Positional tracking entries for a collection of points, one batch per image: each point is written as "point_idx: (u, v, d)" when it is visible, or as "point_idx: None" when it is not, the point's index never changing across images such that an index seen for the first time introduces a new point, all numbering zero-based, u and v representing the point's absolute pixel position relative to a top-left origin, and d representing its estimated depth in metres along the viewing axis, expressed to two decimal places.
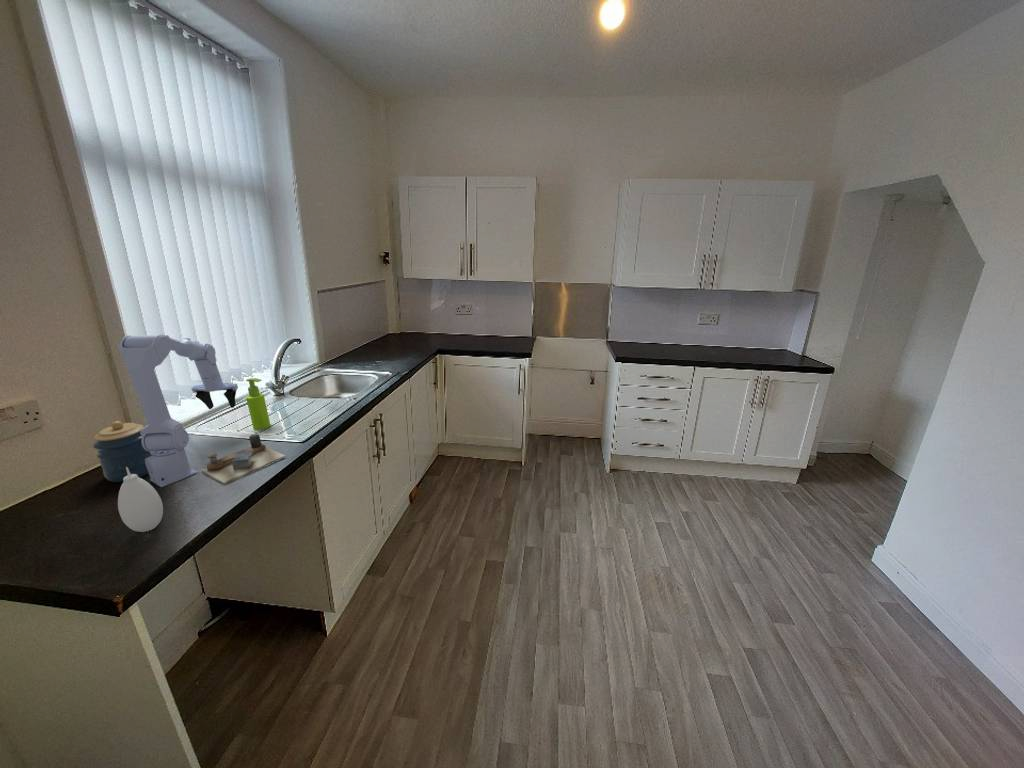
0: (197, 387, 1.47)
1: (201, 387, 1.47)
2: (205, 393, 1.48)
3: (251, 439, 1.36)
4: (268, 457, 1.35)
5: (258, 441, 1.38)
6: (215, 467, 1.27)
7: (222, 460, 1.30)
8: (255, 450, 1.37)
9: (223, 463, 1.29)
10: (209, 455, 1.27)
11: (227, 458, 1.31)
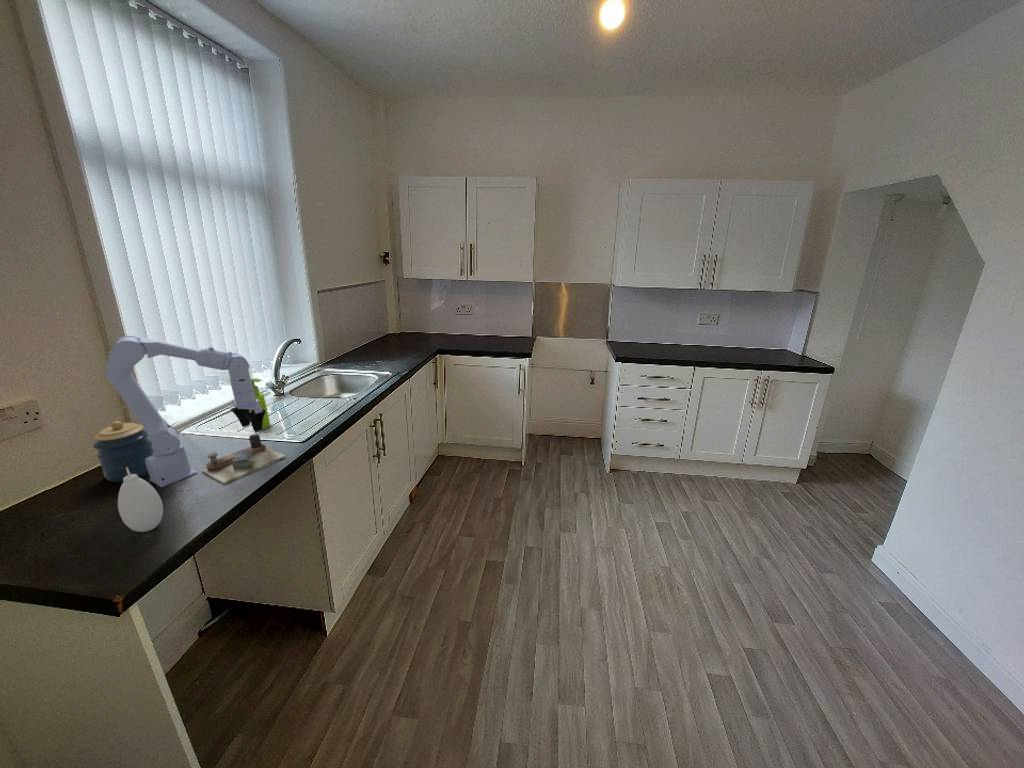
0: None
1: None
2: (241, 409, 1.36)
3: (251, 439, 1.36)
4: (268, 457, 1.35)
5: (258, 441, 1.38)
6: (215, 467, 1.27)
7: (222, 460, 1.30)
8: (255, 450, 1.37)
9: (223, 463, 1.29)
10: (209, 455, 1.27)
11: (227, 458, 1.31)
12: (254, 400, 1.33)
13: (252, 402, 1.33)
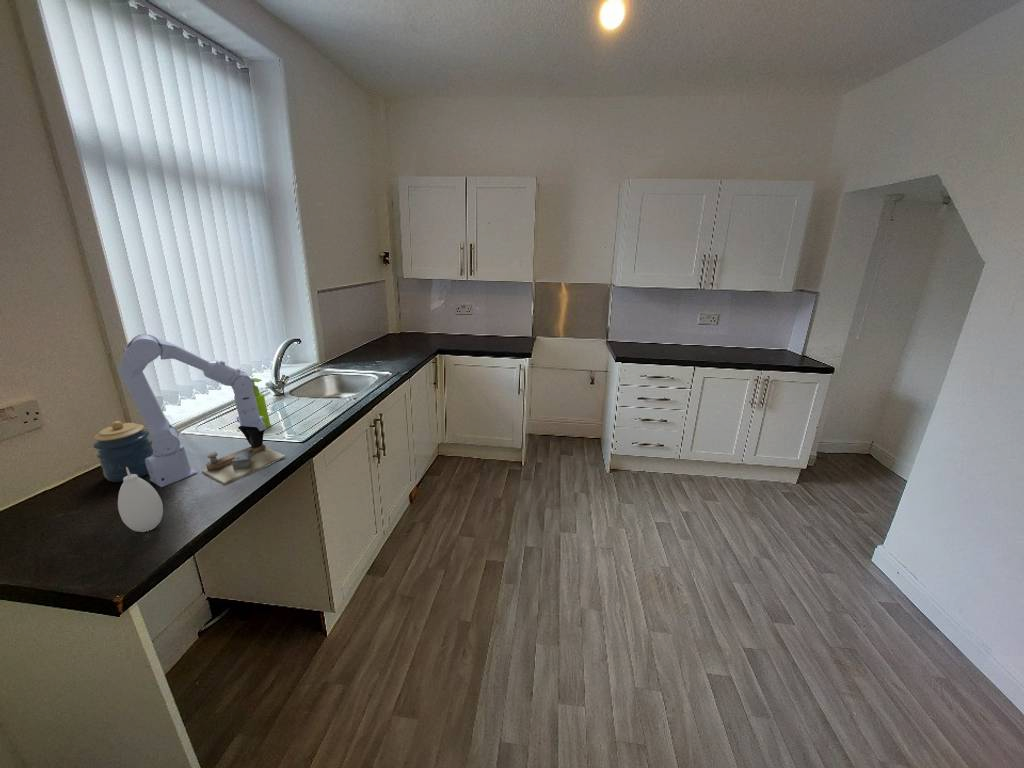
0: None
1: None
2: (248, 427, 1.37)
3: (251, 439, 1.36)
4: (268, 457, 1.35)
5: None
6: (215, 467, 1.27)
7: (222, 460, 1.30)
8: (255, 450, 1.37)
9: (223, 463, 1.29)
10: (209, 455, 1.27)
11: (227, 458, 1.31)
12: (258, 417, 1.35)
13: (256, 419, 1.35)
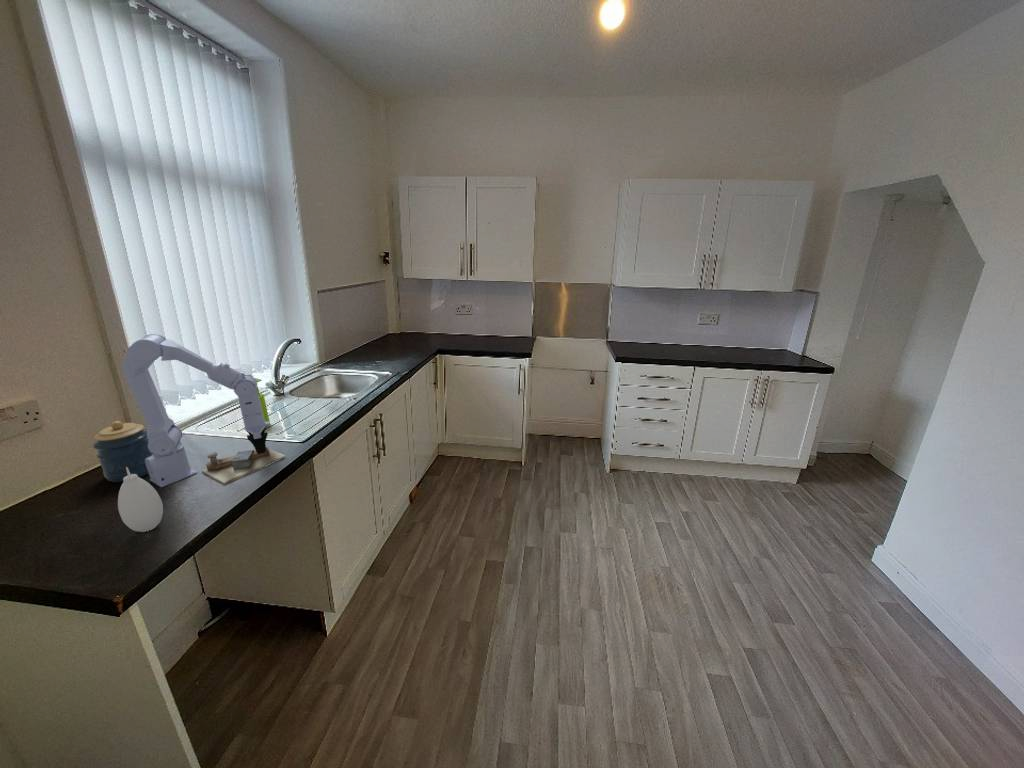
0: None
1: None
2: None
3: None
4: (268, 457, 1.35)
5: None
6: (212, 468, 1.26)
7: (222, 461, 1.29)
8: (258, 455, 1.34)
9: (221, 464, 1.28)
10: (209, 455, 1.27)
11: (227, 460, 1.29)
12: (260, 423, 1.31)
13: (257, 425, 1.30)
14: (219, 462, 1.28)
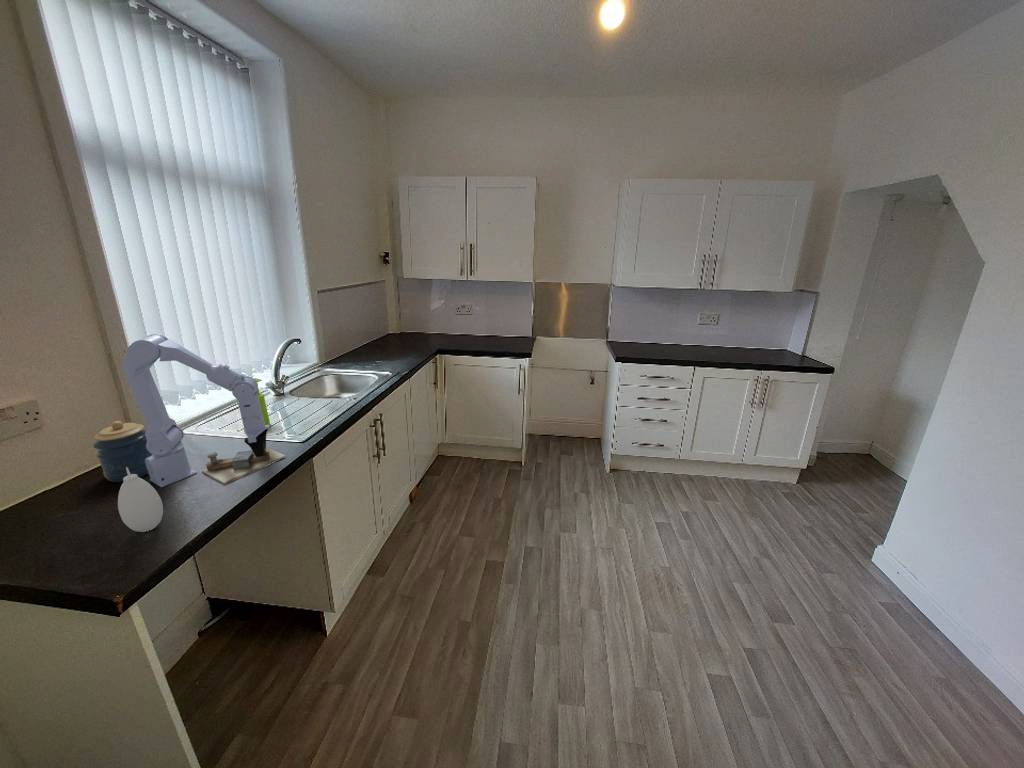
0: None
1: None
2: None
3: None
4: None
5: None
6: (210, 468, 1.26)
7: (221, 462, 1.28)
8: (256, 459, 1.31)
9: (220, 465, 1.28)
10: (209, 454, 1.27)
11: (226, 461, 1.29)
12: (259, 427, 1.28)
13: (255, 429, 1.27)
14: (218, 463, 1.28)
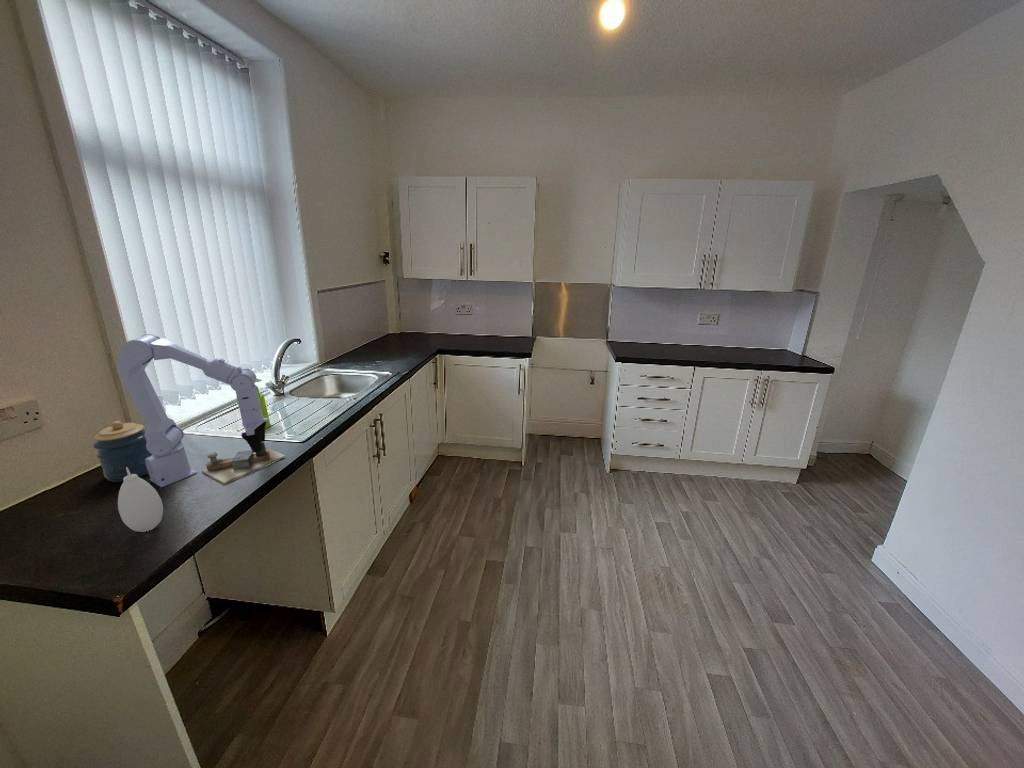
0: None
1: None
2: None
3: None
4: None
5: None
6: (210, 468, 1.26)
7: (221, 462, 1.28)
8: (256, 459, 1.31)
9: (220, 465, 1.28)
10: (209, 454, 1.27)
11: (226, 461, 1.29)
12: (257, 419, 1.27)
13: (253, 421, 1.27)
14: (218, 463, 1.28)
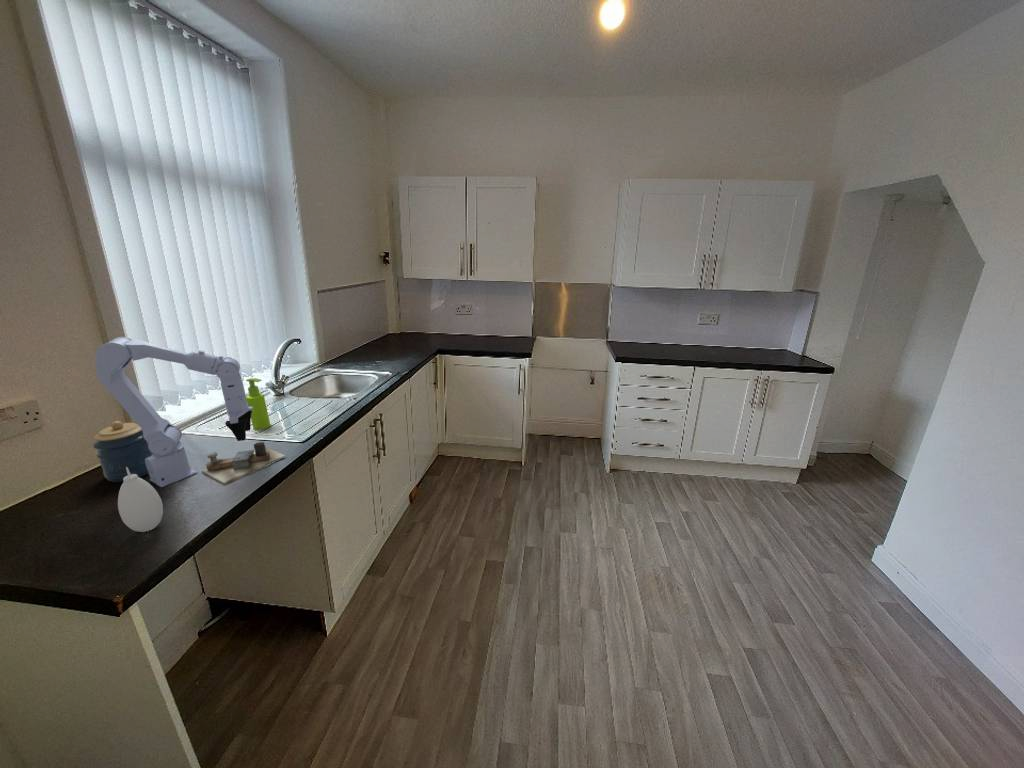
0: None
1: None
2: None
3: (254, 447, 1.31)
4: None
5: (260, 450, 1.31)
6: (210, 468, 1.26)
7: (221, 462, 1.28)
8: (256, 459, 1.31)
9: (220, 465, 1.28)
10: (209, 454, 1.27)
11: (226, 461, 1.29)
12: (241, 408, 1.27)
13: (238, 410, 1.27)
14: (218, 463, 1.28)
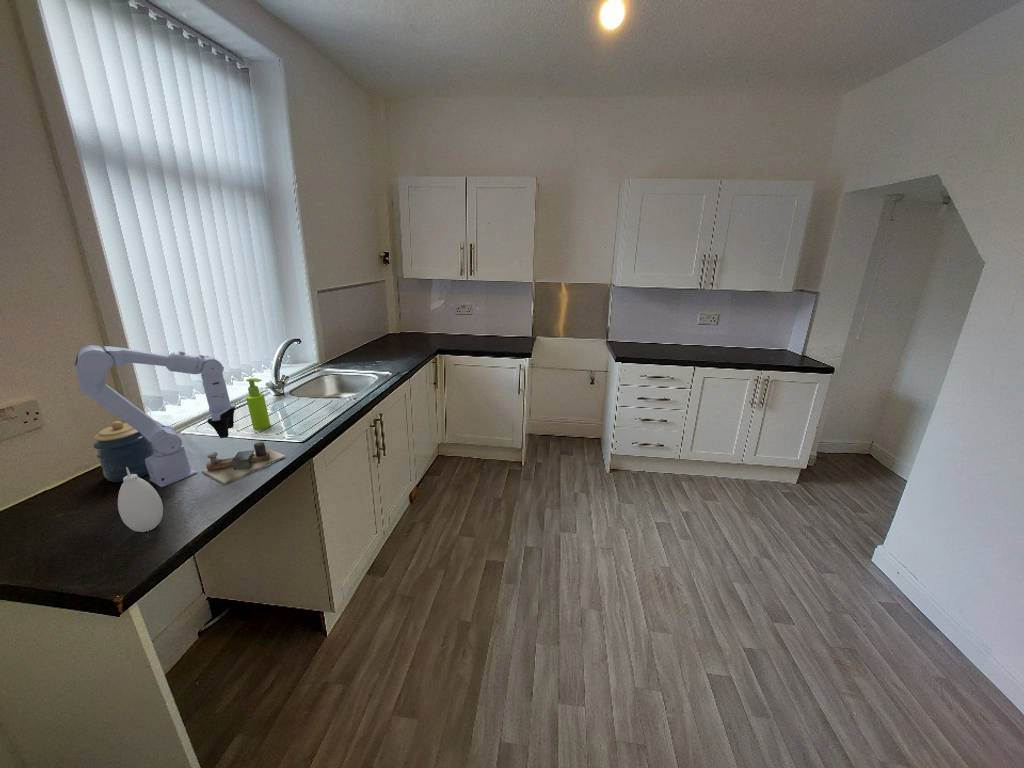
0: None
1: None
2: None
3: (254, 447, 1.31)
4: None
5: (260, 450, 1.31)
6: (210, 468, 1.26)
7: (221, 462, 1.28)
8: (256, 459, 1.31)
9: (220, 465, 1.28)
10: (209, 454, 1.27)
11: (226, 461, 1.29)
12: (223, 406, 1.29)
13: (220, 407, 1.28)
14: (218, 463, 1.28)
